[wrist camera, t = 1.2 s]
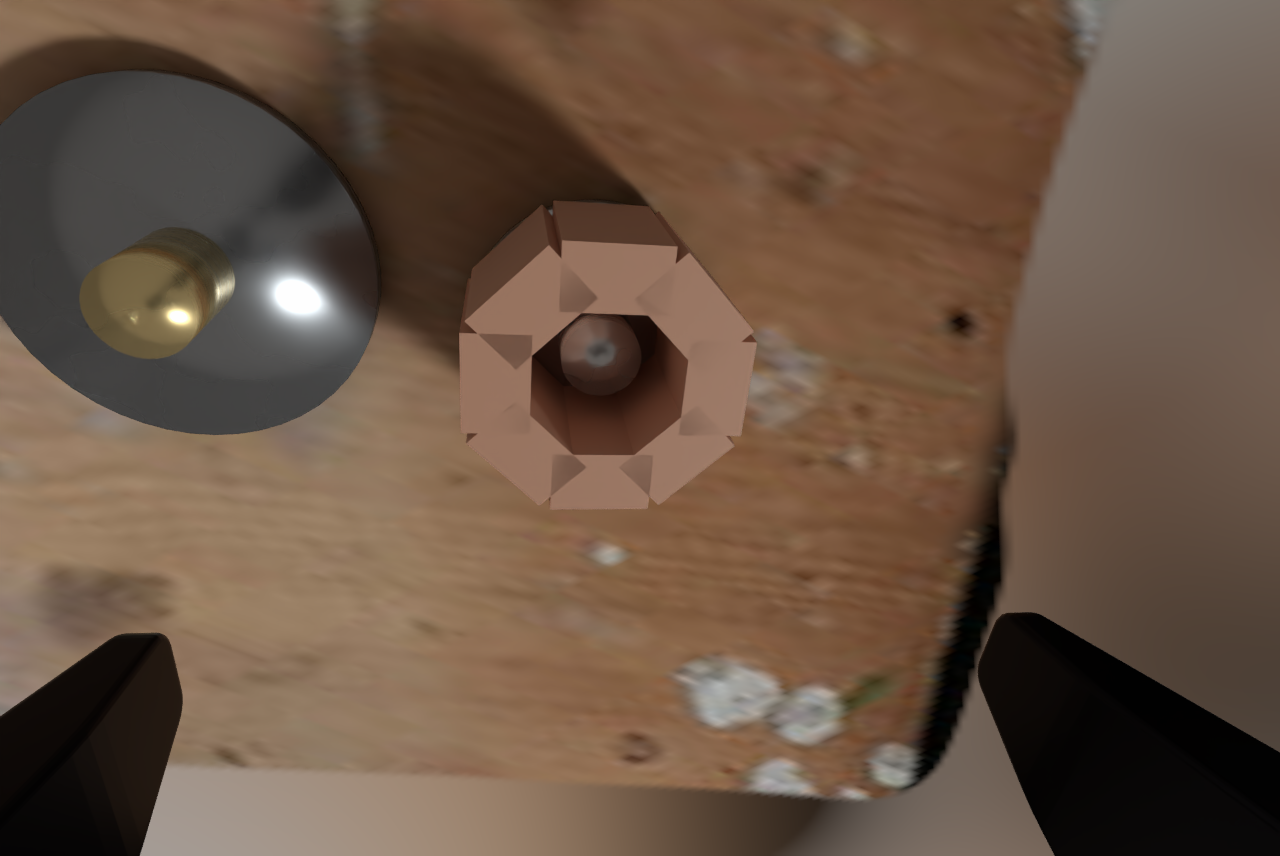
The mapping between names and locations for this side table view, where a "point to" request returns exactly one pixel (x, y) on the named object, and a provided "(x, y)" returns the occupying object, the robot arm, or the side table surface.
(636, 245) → the octagonal hollow tube
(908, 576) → the side table surface
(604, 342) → the metal knobbed lid
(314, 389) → the hub
